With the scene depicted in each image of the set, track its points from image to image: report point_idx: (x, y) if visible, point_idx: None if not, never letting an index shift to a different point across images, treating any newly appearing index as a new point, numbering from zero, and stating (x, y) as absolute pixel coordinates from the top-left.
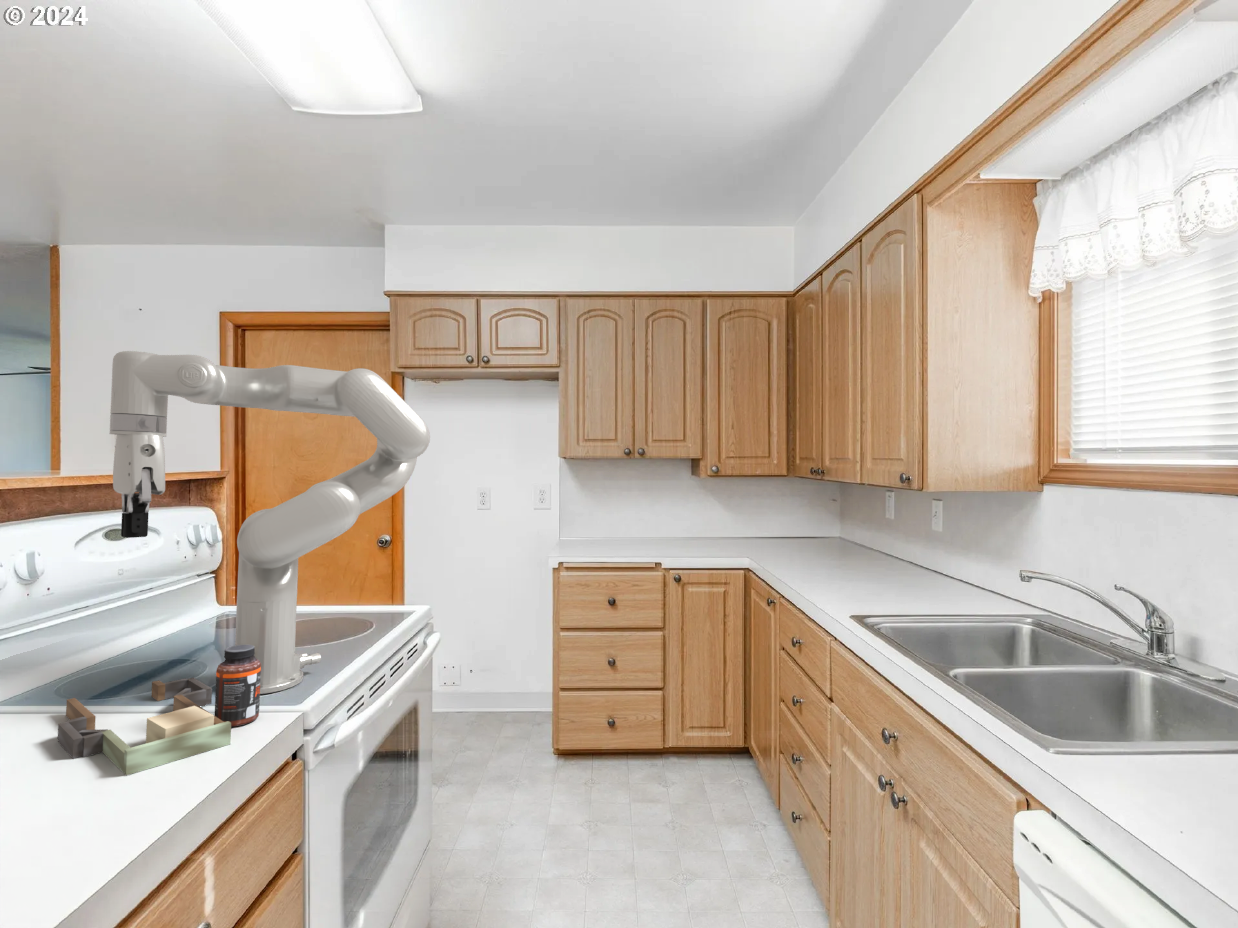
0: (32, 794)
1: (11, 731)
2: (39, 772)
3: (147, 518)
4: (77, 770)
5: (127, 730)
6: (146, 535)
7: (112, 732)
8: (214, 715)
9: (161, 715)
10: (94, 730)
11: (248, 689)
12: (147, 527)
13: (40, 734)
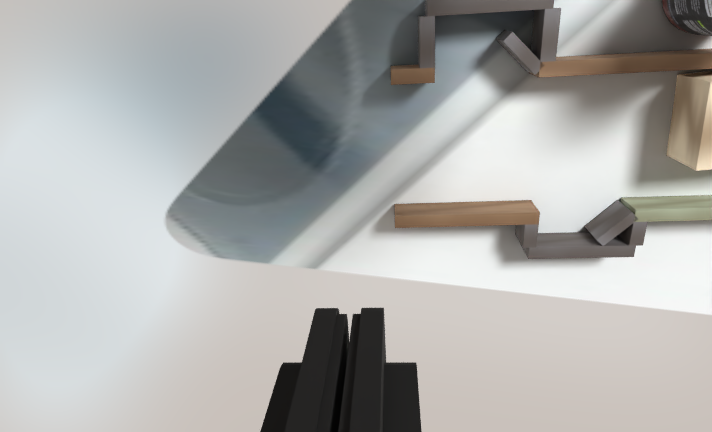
0: (704, 295)
1: (413, 279)
2: (631, 278)
3: (377, 404)
4: (673, 245)
5: (561, 159)
6: (382, 311)
7: (655, 210)
8: (693, 33)
9: (705, 147)
10: (616, 227)
11: None
12: (380, 345)
13: (463, 255)
